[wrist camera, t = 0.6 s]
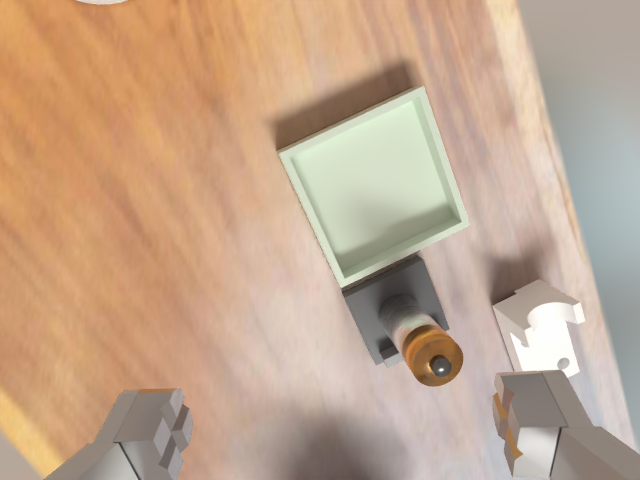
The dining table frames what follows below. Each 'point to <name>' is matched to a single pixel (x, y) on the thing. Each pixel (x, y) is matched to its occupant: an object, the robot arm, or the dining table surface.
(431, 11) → the dining table surface
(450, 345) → the battery cell
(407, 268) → the block
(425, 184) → the tray
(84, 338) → the dining table surface
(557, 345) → the bracket
